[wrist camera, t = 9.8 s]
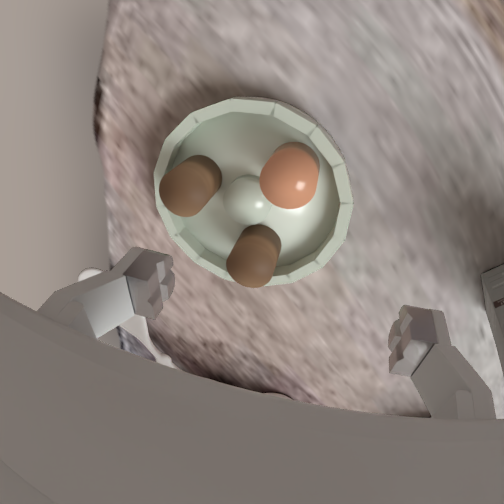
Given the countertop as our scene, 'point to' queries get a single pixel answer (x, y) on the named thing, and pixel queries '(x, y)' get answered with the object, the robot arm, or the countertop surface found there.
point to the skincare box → (495, 306)
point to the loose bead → (290, 175)
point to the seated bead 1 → (190, 185)
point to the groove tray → (251, 157)
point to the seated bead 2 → (254, 256)
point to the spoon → (135, 326)
